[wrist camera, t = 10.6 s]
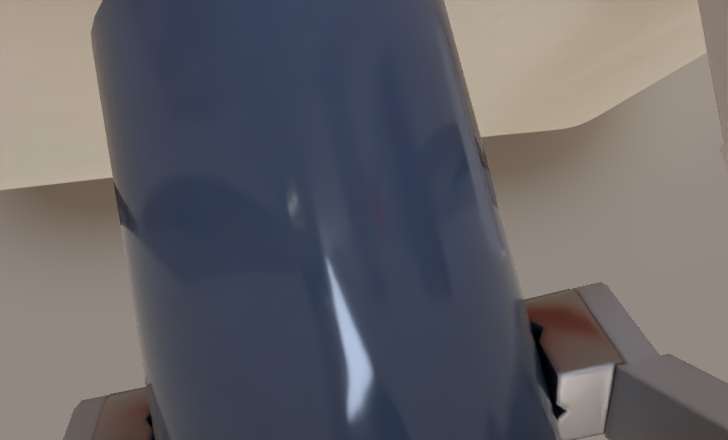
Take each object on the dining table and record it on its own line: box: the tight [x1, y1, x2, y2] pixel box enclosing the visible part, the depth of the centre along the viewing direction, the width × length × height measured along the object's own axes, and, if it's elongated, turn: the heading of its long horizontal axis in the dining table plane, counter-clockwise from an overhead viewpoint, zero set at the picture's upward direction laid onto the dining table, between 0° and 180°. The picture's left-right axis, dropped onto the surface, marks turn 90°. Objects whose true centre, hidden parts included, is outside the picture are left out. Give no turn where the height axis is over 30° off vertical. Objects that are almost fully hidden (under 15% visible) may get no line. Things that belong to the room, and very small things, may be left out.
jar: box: [91, 0, 562, 440], centre depth 9 cm, size 6×6×10 cm
